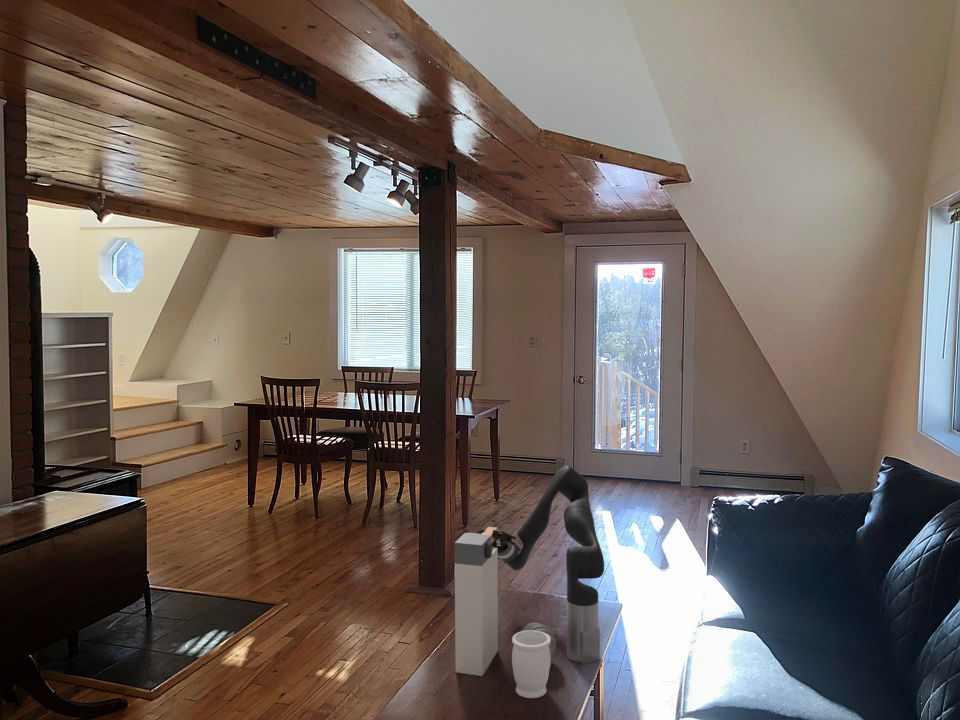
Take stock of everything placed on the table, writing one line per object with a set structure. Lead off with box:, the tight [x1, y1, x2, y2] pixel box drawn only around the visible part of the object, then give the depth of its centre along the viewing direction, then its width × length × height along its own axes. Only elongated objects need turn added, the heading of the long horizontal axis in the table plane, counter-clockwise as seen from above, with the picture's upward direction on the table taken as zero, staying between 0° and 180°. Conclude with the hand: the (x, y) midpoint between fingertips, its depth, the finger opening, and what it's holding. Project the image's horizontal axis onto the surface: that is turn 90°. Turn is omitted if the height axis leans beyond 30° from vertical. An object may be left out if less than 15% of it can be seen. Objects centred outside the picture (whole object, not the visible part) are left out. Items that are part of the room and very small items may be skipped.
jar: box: [511, 630, 552, 699], centre depth 210 cm, size 11×10×15 cm
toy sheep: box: [520, 622, 557, 668], centre depth 226 cm, size 11×17×11 cm, turn 24°
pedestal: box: [454, 532, 499, 677], centre depth 226 cm, size 16×9×38 cm, turn 163°
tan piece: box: [469, 526, 499, 544], centre depth 233 cm, size 16×8×5 cm, turn 163°
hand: (488, 532), depth 235 cm, fingers closed on tan piece, 3 cm apart
